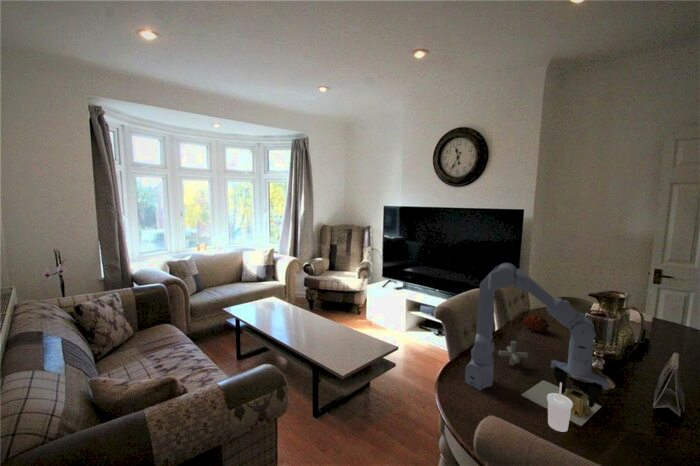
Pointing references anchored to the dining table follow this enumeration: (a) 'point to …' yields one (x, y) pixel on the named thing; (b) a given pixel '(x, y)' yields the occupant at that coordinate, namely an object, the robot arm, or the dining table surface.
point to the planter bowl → (578, 304)
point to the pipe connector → (513, 353)
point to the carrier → (540, 397)
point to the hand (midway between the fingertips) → (576, 399)
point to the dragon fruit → (536, 323)
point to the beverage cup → (559, 410)
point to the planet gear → (579, 403)
